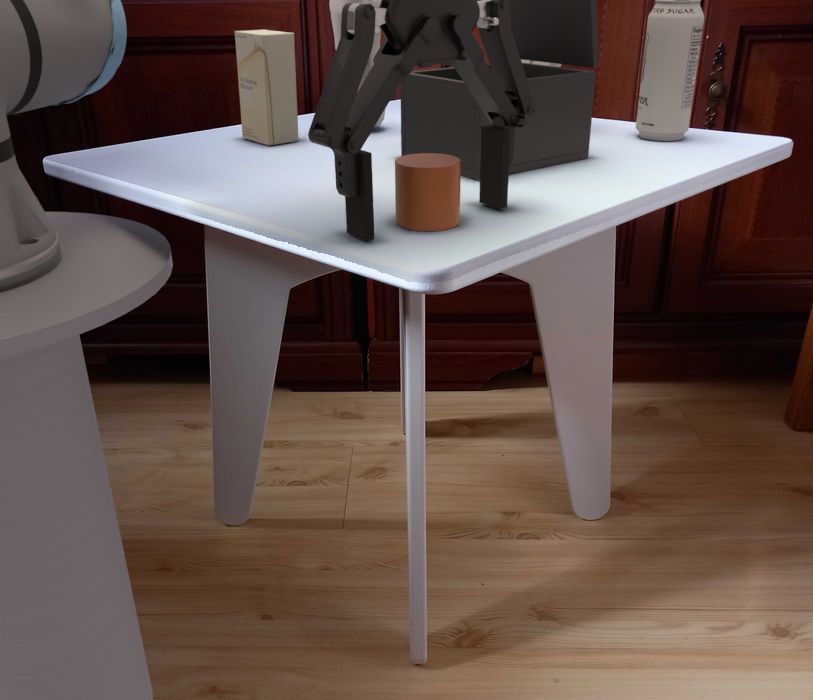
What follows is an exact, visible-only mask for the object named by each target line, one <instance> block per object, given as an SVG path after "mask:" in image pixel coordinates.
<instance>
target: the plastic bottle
mask: <svg viewBox="0 0 813 700" xmlns="http://www.w3.org/2000/svg"><path fill="white" fill-rule="evenodd" d="M380 2H381V0H329V3H328V5H329V12H330V20H331V25H332V31H333V38H334V50H335V51H336V50H337V47H338V44H339V41H340V38H341V19H342V8H343V6H344V5H345V4H347V3H362V4H371V5H372V6H373V7H378V8H379V5H380ZM381 36H382V30H381V29H380V33H379V34H378V35H376V37H375V38H374V42H373V47H372V50H371V54H370V57H369V60H368V62H367V65H366V68H365V71H364V74H363V77H362V80H361V83H360V86H359V88H358V90H359V89H360V87H361V85H362V84H363V82H364V80H365V79H366V77H367V75H368V73H369V72H370V70H371V68H372V67H373V65H374V62H373V59H374V56H375V55H376V53H377V51H378V50H379V48H380V46H381V40H382V39H381ZM357 92H358V91H357ZM386 109H387V107H386V108H385V110H384V111H383V113H382V115H381V116H380V118H379V120H378V122H377V123H376V125H375V127H374V128H378V127H380V126H381V125H382V124H383V122H384V120H385V115H386Z"/></svg>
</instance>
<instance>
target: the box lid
mask: <svg viewBox="0 0 813 700" xmlns="http://www.w3.org/2000/svg"><path fill="white" fill-rule="evenodd" d="M509 4H510V26H511V30H512V34H513V37H514V40H515V43H516V46H517V49H518V53H519V56H520V59H522V60H531V61H539V62H548V63H556V64H562V65H566V66H573V67H584V68H591V69H594V68H597V67H599V66H600V58H599V37H598V18H597V17H598V16H597V15H598V14H597V13H598V12H597V0H509Z"/></svg>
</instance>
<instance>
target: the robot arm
mask: <svg viewBox="0 0 813 700" xmlns="http://www.w3.org/2000/svg"><path fill="white" fill-rule="evenodd" d="M476 26H477V28H478V33H479V37H480V40H481V44H482V45H483V48H482V46H481V44H479V42H478V40H477V38H476V37H475V35H474V34H473V32H474V30H475V28H476ZM380 29H381V33H382V34H383V35H384V37H385V38H384V39H383V41H382V42H381V44H380V48H379V50H378V51H377V53H376V55H375V56H374V59H373V62H374V65H373V67H372V68H371V70H370V72H369V73H368V75H367V77H366V79H365V80H364V82H363V84H362V85H361V87H360V89H359V90H358V88H359V86H360V83H361V80H362V77H363V74H364V71H365V68H366V65H367V62H368V60H369V57H370V54H371V50H372V47H373V42H374V38H375V37H376V35H378V34H379V33H380ZM127 38H128V30H127V19H126V14H125V10H124V6H123V4H122V1H121V0H0V292H3V291H7V290H10V289H13V288H16V287H19V286H22V285H24V284H27V283H29V282H32V281H34V280H36V279H38V278H40V277H42V276H44V275H45V274H47V273H49V272H50V271H51V270H53V269H54V268H55V267H56V266H57V265H58V264H59V262H60V261H61V258H62V255H61V250H60V245H59V240H58V235H57V233H56V231H55V230H54V227H53V226H52V224H51V222H50V221H49V219H48V217H47V215H46V214H45V212H46V211H45V210H44V208H43V206H42V204H41V203H40V200H39V198H38V197H37V196H36V195H35V193H34V191H33V190H32V188H31V186H30V185H29V183H28V181H27V180H26V178H25V176H24V174H23V172H22V171H21V169H20V168H19V164H18V162H17V158H16V153H15V150H14V146H13V140H12V136H11V131H10V126H9V122H8V121H9V120H8V116H13V115H17V114H22V113H25V112H29V111H34V110H37V109H41V108H45V107H50V106H59V105H68V104H71V103H75V102H76V101H79V100H80V99H82V98H84V97H85V96H88V95H91V94H94V93H95V92H97V91H99V90H100V89H102V88H104V86H106V85H107V84H108V83H109V82H110V81H111V80H112V79H113V77H114V75H115V74H116V72H117V70H118V68H119V67H120V65H121V64H122V61H123V59H124V55H125V52H126V47H127ZM483 49H484V50H483ZM485 55H486V58H487V60H488V63H487V62H486V60H485ZM487 64H490V67H491V69H492V71H491V69H490V68H489V66H488V65H487ZM435 65H441V66H442V65H443V66H452V67H454V68H455V69H456V71H457V72H458V74H459V75H460V77H461V78H462V80H463V81H464V83H465V84H466V86H467V88H468V89H469V91H470V92H471V94H472V95H473V97H474V98H475V100H476V101H477V103H478V104H479V106H480V107H481V109H482V110H483V112H484V113H485V115H486V116H487V118H488V119H489V121H490V122H491V123H493V126H491V125H485V126H481V155H480V180H479V204H483V205H486V206H489V207H493V208H496V209H499V210H503V209H508V195H509V174H508V172H509V165H512V162H513V159H514V152H513V151H514V134H515V128H519V129H521V128H522V127H524V125H525V122H526V117H525V116H528V117H530V116H532V115H533V114H534V112H535V103H534V100H533V97H532V94H531V91H530V87H529V84H528V81H527V78H526V75H525V72H524V68H523V65H522V62H521V59H520V56H519V53H518V49H517V46H516V43H515V40H514V37H513V34H512V30H511V26H510V4H509V0H381V2H380V5H379V8H378V7H373V6H372V5H371V4H362V3H347V4H345V5H344V6H343V8H342V19H341V38H340V41H339V44H338V47H337V50H335V52H334V56H333V58H332V62H331V65H330V67H329V71H328V74H327V76H326V79H325V82H324V85H323V89H322V91H321V95H320V97H319V100H318V103H317V106H316V110H315V112H314V115H313V117H312V121H311V124H310V127H309V129H308V134H307V136H308V140H309V142H310V143H312V144H315V145H319V146H322V147H326V148H329V149H330V150H331V151H332V152H333V157H334V173H335V175H334V177H335V188H336V191H337V193H338V195H340V196H343V197H344V200H345V201H344V203H345V221H346V222H345V223H346V233H347V234H348V235H351V236H353V237H355V238H358V239H359V240H363V241H365V242H369V241H373V240H375V216H374V215H375V214H374V213H375V211H374V184H373V159H372V158H373V157H372V156H373V155H372V152H371V151H366V150H363V149H362V148H363V147H364V145H365V144H366V141H367V140H368V138H369V137H370V135H371V133H372V131H373V130H374V128H376V127H375V125H376V123H377V122H378V120H379V118H380V116H381V115H382V113H383V111H384V110H385V111H386V109H387V106H388V105H389V103H390V101H391V100H392V98H393V97H394V95H395V93H396V91H397V89H398V88H399V87H400V83H401V81H402V79H403V78H404V77H405V76H407V75H409V74H410V73H411V72H412V71H414V69H415V68H420V69H424V68H431V67H433V66H435ZM492 72H493V73H492ZM357 91H358V92H357ZM385 108H386V109H385Z"/></svg>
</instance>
